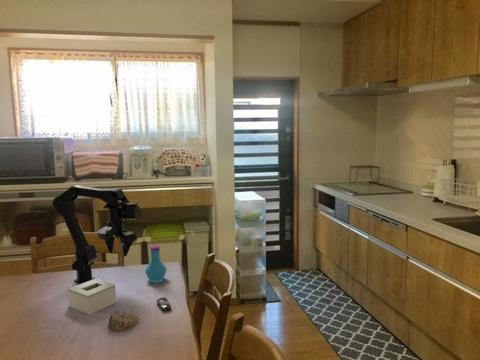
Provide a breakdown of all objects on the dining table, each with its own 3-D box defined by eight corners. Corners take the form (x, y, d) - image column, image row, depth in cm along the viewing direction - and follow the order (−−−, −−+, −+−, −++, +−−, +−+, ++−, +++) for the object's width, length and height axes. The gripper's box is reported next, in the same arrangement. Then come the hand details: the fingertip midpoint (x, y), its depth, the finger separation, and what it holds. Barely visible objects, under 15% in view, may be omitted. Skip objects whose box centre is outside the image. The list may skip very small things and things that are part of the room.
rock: (108, 335, 129) (139, 325, 131) (104, 317, 129) (134, 307, 132) (111, 328, 137) (140, 319, 140) (107, 311, 138) (136, 303, 140)
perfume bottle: (169, 275, 179) (168, 243, 178) (163, 283, 170) (162, 249, 168) (149, 275, 180) (148, 243, 178) (142, 283, 171) (141, 249, 169)
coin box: (69, 306, 149) (68, 288, 148) (96, 295, 159) (95, 278, 158) (89, 314, 143) (87, 295, 142) (116, 302, 153) (115, 284, 152)
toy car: (162, 313, 144) (161, 292, 143) (152, 300, 154) (152, 281, 153) (172, 310, 145) (171, 290, 144) (162, 298, 156) (161, 279, 155)
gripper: (85, 219, 166) (88, 255, 168) (114, 225, 156) (117, 263, 158) (107, 214, 175) (109, 249, 177) (136, 219, 165) (138, 256, 167)
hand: (118, 254), depth 169 cm, fingers open, 9 cm apart
